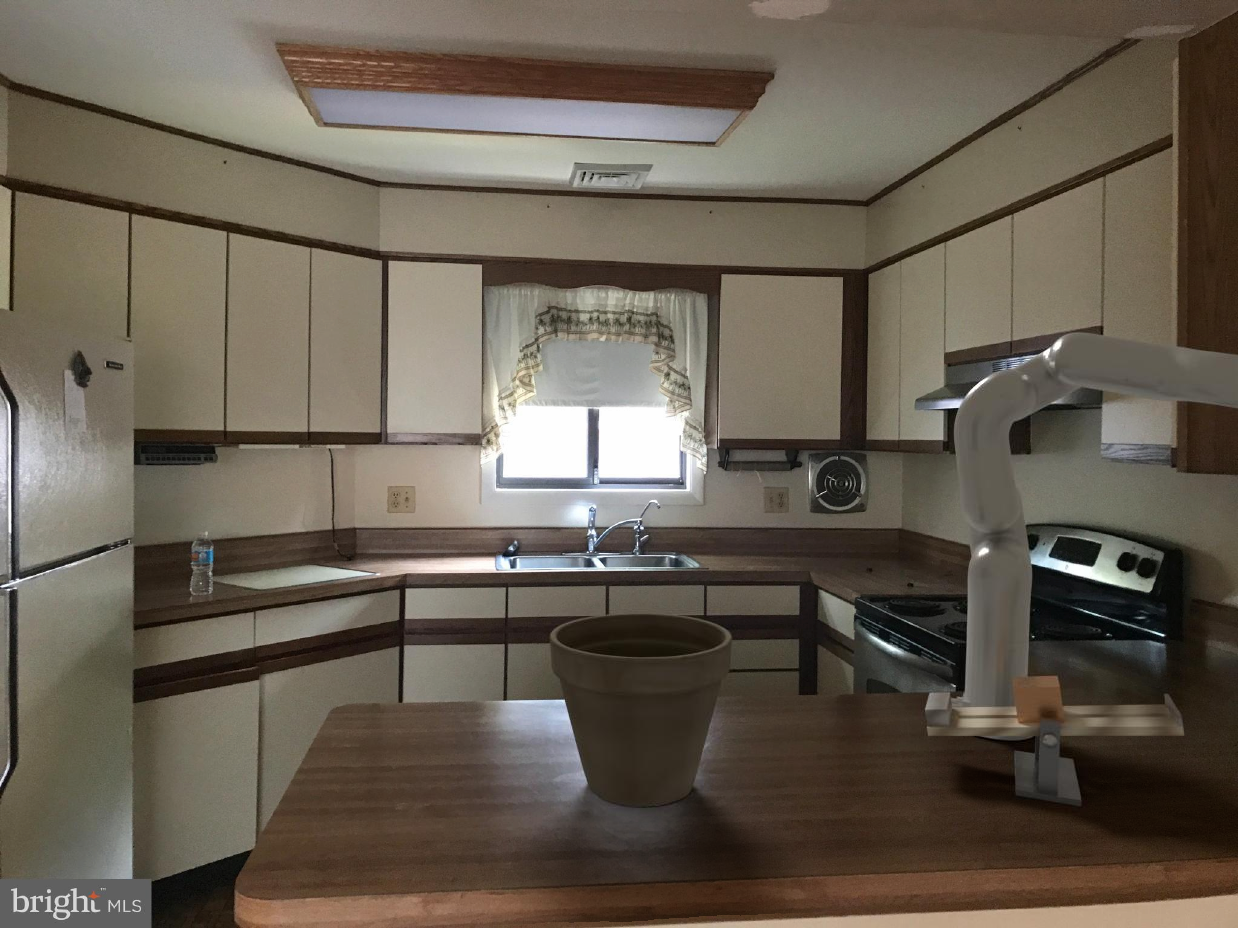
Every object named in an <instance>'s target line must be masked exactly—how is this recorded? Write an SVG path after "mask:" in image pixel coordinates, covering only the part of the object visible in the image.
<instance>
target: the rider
mask: <svg viewBox="0 0 1238 928" xmlns="http://www.w3.org/2000/svg"><path fill="white" fill-rule="evenodd" d="M1013 691H1014V698H1015V705H1016V712H1017V719H1018V723H1040V719H1041V718H1048V719H1055V720H1060V723H1065V719H1064V712H1063V706H1064V705H1063V700H1062V699H1063V698H1062V693H1061V686H1060V681H1059V677H1058V675H1041V676H1040V675H1039V676H1037V675H1036V676H1027V677H1013Z"/></svg>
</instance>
